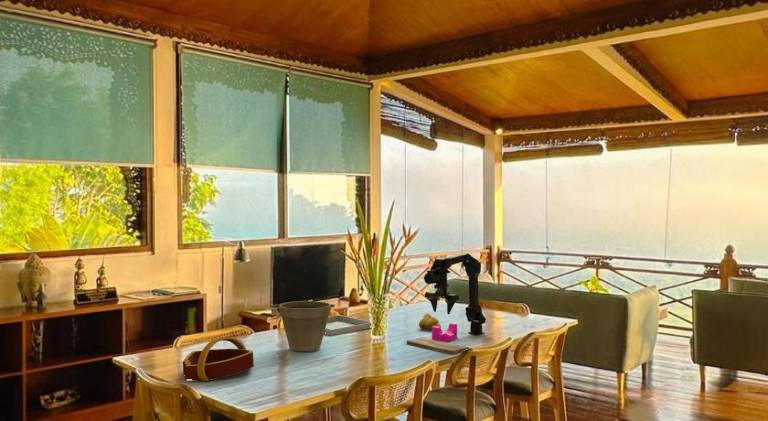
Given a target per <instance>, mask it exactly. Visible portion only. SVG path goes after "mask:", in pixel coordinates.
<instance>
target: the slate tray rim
mask: <svg viewBox="0 0 768 421" xmlns="http://www.w3.org/2000/svg"><path fill="white" fill-rule="evenodd" d="M336 321H339V322H340V321H341V322H345V323H351V324H354V325H348V326H343V327H337V328H333V329H331V328H327V327H326V328H325V332H324V333H326V334H325V335H327V334H329V335H328V336H331V335H332V336H335V335H334V334H337V335H341V334H340V333H343V334H346V332H348V333H352V331H353V332H358V331H357V330H359V331H363V330H362V329H364V330H368V329H367V328H369V329H371V328H370V326H371V323H370V320H366V319H365V320H364V319H361V318H356V317H351V316H346V315H343V314H342V315H341V314H336V315H329V316H328V320H327V323H330V322H336Z"/></svg>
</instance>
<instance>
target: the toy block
mask: <svg viewBox="0 0 768 421" xmlns="http://www.w3.org/2000/svg"><path fill="white" fill-rule="evenodd" d="M446 329H447V330H446V331H445V332H443V331H442V327H438V326H433V327H432V330H431V339H433V340H438V341H443V342H447V343H449V342H452V341H455V339H458V324H457V323H455V322H454V323H452V322H450V323H449V324H448V327H447V328H446Z"/></svg>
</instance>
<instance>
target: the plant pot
mask: <svg viewBox="0 0 768 421" xmlns="http://www.w3.org/2000/svg"><path fill="white" fill-rule="evenodd" d="M278 306H279V307H278V309H279V310H278V311H279V316H280V317H281V320H282V326H283V328H284V332H285V335H286V336H285V337H286V339H287V345H288V348H289V350H290V349H291V351H292V350H294V351H293V352H296V351H311V352H315V351H314V350H316V351H318V350H317V349H319V348H320V349H321V346H322V342H323V338H324V335H325V334H324V332H325V328H327V327H326V326H327V324H328V322H327V320H328V317H329V316H331V312H332V311H331V310H332V304H331V303H329V302H325V301H315V300H301V301H297V300H296V301H290V302H282V303H280V304H279V305H278ZM320 349H319V350H320Z"/></svg>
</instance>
